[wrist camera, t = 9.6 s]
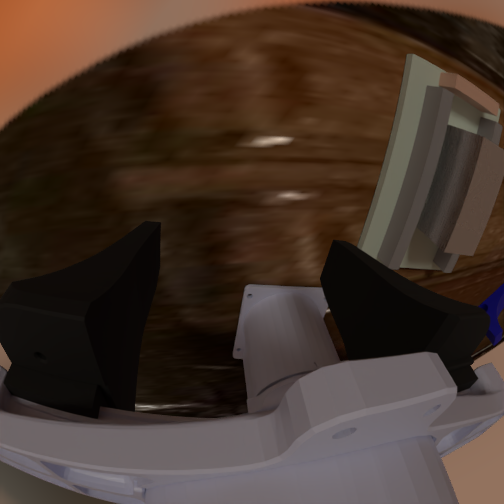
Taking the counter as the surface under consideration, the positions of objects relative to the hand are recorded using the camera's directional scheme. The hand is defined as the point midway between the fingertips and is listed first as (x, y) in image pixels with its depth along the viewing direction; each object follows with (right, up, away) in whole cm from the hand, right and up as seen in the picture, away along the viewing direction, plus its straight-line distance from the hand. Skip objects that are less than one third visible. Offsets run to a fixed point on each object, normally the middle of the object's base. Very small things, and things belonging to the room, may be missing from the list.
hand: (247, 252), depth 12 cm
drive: (+16, +6, +8) cm, 19 cm away
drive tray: (+16, +7, +9) cm, 20 cm away
